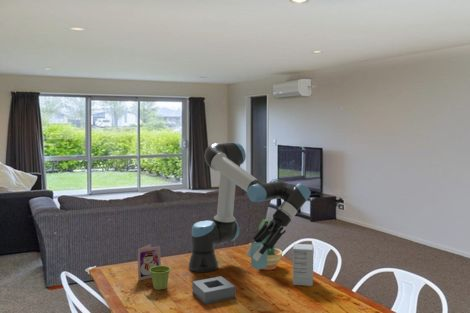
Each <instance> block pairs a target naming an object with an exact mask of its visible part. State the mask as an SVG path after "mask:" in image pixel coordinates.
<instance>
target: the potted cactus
mask: <svg viewBox="0 0 470 313" xmlns="http://www.w3.org/2000/svg"><path fill="white" fill-rule="evenodd" d="M266 221H267V222H270V221H272V219H270V218H265V219H264V218H263V219H262V220H261V221H260V224H259V225H258V228H257V232H259V230H260V229H261V228H262V227H263V225H264V223H265V222H266ZM268 230H269V229H268ZM269 231H270V230H269ZM268 236H269V235H268ZM268 236H267V237H266V238H265V239H264V240H263V241H262V242H263V243H265V241H266V239H267V238H268ZM275 245H276V244H275ZM275 245H274V246H273V248H272V249H270V248H269V249H267V268H264V269H263V270H266V271H267V270H270V271H271V270H275V269H277V265H278V264H279V262H280V260H281V257H283V253H284V252H283V250H281V249H280V248H275V247H276V246H275Z"/></svg>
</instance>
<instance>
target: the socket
mask: <svg viewBox="0 0 470 313" xmlns="http://www.w3.org/2000/svg"><path fill="white" fill-rule="evenodd" d="M192 294H193V295H194V296H196V298H197V299H198V300H200V302H202V304H204V305H208V304H213V303H219V302H223V301H227V300H233V299H236V285H235V284H233V283H231V282H230V281H229V280H228V279H227V278H225V277H223V276H216V277H210V278H204V279H199V280H194V281H192Z"/></svg>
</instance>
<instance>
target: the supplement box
mask: <svg viewBox="0 0 470 313" xmlns="http://www.w3.org/2000/svg"><path fill="white" fill-rule="evenodd" d="M292 285H293V286H308V287H309V286H310V287H313V285H314V244H308V243H307V244H304V243H293V247H292Z"/></svg>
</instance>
